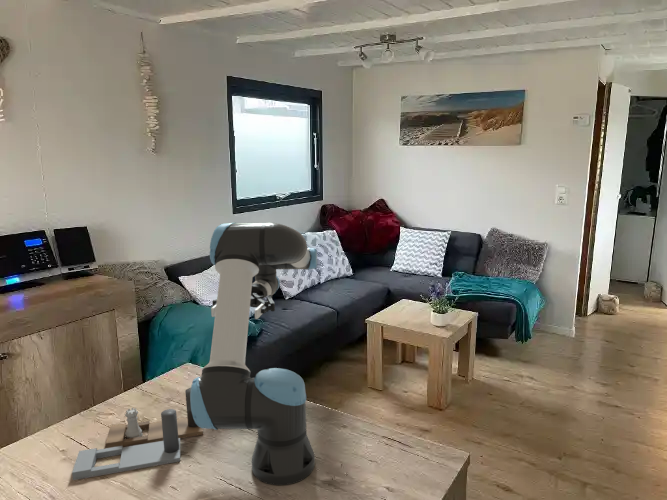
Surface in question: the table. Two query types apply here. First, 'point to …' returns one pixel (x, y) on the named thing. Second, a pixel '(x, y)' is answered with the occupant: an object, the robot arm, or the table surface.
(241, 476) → the table surface
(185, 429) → the brown board with post
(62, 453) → the table surface
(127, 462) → the grey board with post
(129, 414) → the rook chess piece
